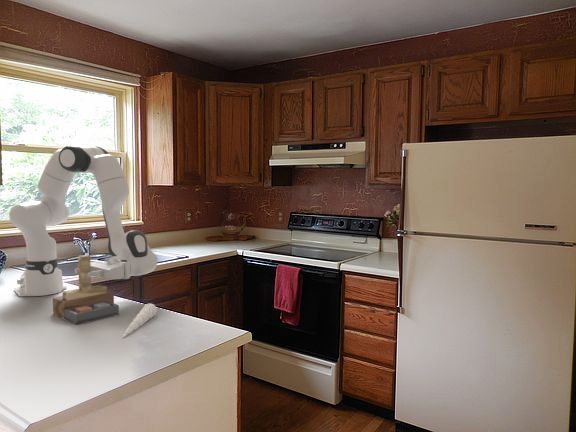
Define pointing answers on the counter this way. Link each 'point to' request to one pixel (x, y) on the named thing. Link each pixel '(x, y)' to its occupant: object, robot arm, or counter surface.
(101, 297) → the wide wooden plinth
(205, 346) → the counter surface
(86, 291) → the wooden inverted t block
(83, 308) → the salmon orange block
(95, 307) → the pale blue-grey cube
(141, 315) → the unicorn horn
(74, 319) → the bin
